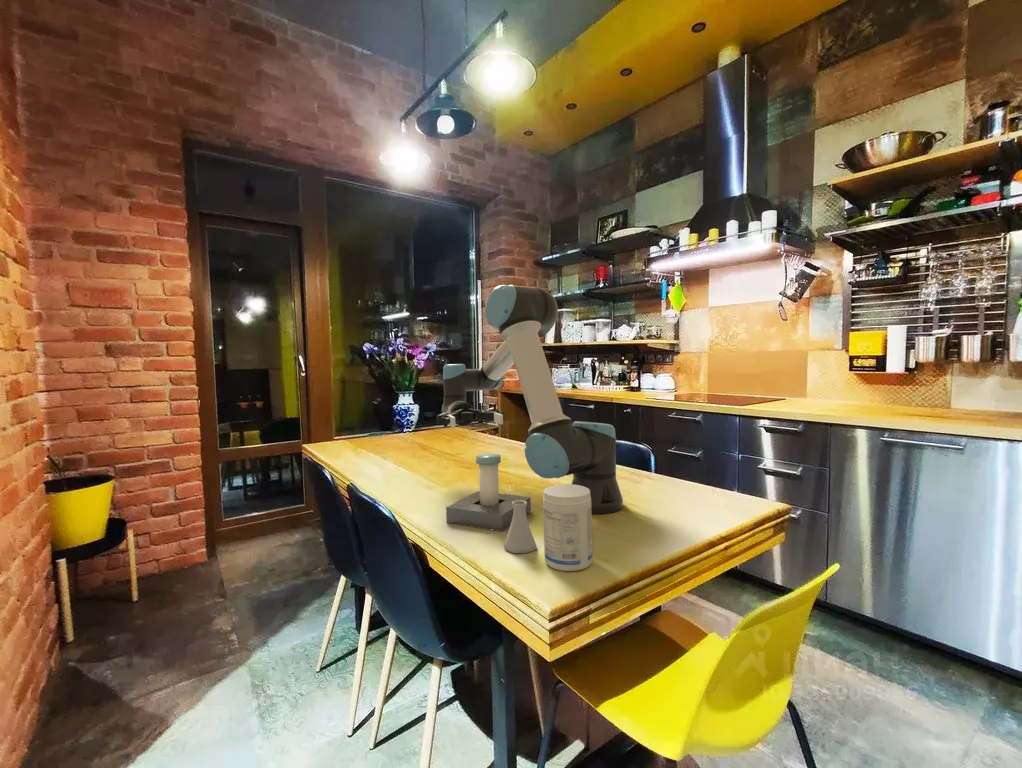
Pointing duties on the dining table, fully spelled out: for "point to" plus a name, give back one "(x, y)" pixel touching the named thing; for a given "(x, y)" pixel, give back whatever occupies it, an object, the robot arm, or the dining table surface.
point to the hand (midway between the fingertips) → (478, 421)
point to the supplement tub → (567, 527)
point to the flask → (519, 531)
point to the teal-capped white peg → (488, 479)
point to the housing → (484, 512)
